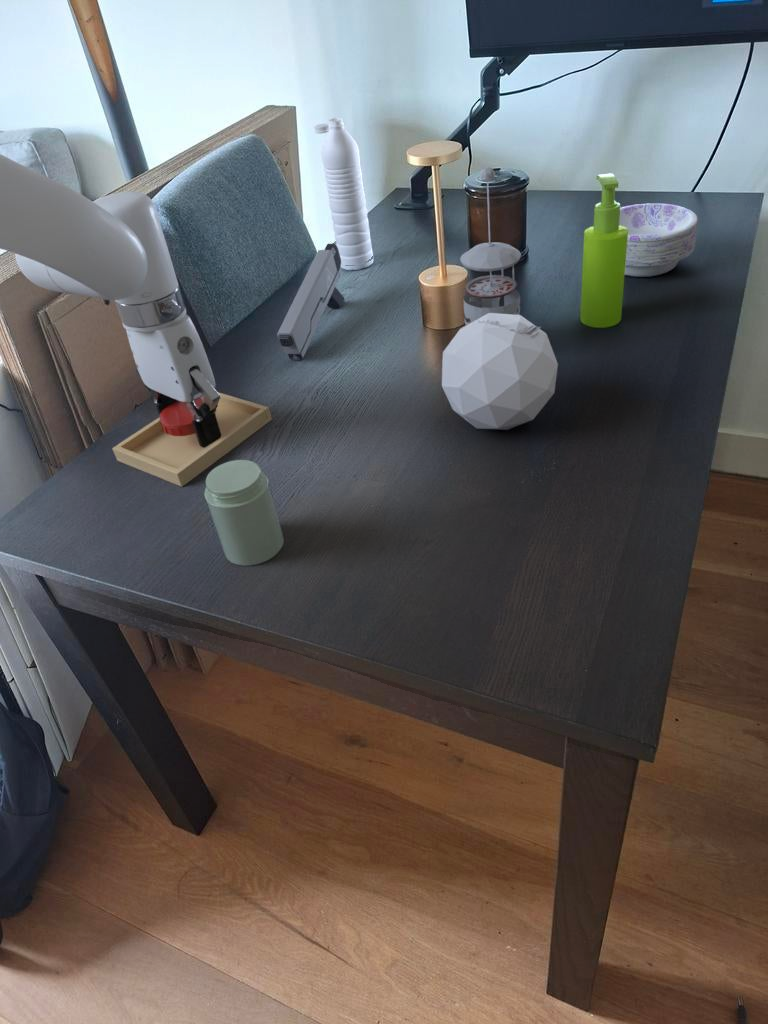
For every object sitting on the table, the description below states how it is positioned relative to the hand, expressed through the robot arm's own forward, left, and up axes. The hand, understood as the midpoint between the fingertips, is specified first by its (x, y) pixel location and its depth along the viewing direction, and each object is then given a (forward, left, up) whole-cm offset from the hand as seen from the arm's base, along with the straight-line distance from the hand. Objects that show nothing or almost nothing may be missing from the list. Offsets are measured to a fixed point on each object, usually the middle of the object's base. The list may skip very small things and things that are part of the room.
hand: (192, 433), depth 100 cm
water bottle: (+56, +16, -1) cm, 58 cm away
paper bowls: (+72, -33, -1) cm, 79 cm away
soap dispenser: (+52, -34, -1) cm, 62 cm away
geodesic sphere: (+21, -34, -1) cm, 40 cm away
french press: (+38, -24, -1) cm, 45 cm away
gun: (+32, +5, -1) cm, 33 cm away
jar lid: (0, 0, +3) cm, 3 cm away
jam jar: (-12, -22, -1) cm, 25 cm away
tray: (0, 0, -1) cm, 1 cm away
